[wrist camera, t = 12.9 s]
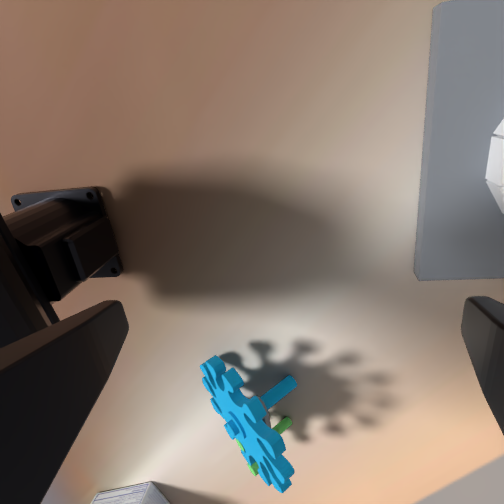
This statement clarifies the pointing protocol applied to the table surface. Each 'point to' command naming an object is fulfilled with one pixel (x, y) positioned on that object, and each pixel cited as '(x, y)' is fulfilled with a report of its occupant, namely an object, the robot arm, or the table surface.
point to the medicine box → (132, 495)
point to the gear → (251, 421)
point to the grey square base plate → (463, 145)
